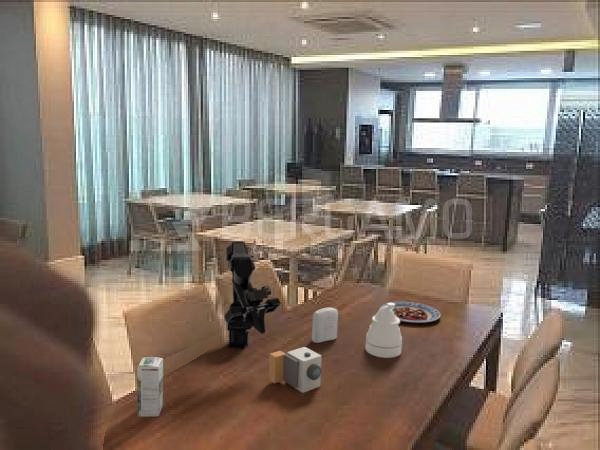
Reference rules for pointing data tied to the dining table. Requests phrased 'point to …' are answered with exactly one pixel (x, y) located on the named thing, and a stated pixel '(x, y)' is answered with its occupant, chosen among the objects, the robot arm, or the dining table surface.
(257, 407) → the dining table surface
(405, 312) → the ceramic plate
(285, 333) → the dining table surface
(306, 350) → the block
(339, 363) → the dining table surface
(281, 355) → the side door
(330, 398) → the dining table surface
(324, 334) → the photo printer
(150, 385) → the syrup box
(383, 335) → the honey pot
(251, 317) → the robot arm
